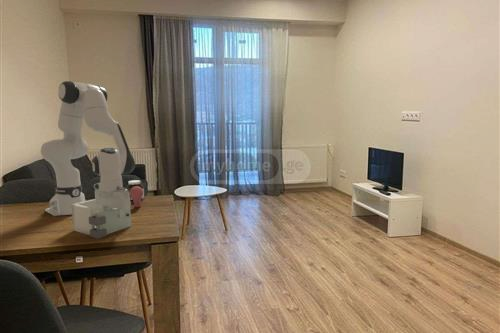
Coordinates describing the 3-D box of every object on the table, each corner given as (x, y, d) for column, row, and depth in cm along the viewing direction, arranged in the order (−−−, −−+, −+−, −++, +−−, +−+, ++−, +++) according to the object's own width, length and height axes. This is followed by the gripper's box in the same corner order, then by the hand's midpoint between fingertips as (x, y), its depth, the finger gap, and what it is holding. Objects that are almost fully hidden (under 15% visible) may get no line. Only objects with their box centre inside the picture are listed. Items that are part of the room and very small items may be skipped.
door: (96, 235, 147) (95, 213, 146) (128, 225, 161) (126, 204, 159) (101, 237, 146) (99, 214, 144) (132, 226, 159) (131, 205, 158)
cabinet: (71, 230, 154) (69, 204, 152) (112, 218, 171) (110, 195, 169) (97, 238, 143) (95, 210, 142) (138, 225, 161) (136, 200, 159)
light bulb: (131, 209, 187) (130, 188, 186) (129, 206, 194) (128, 185, 192) (145, 208, 191) (144, 186, 189) (142, 205, 197) (141, 184, 195)
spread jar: (146, 199, 210) (145, 180, 208) (131, 203, 200) (129, 184, 198) (132, 197, 216) (131, 179, 214) (117, 201, 206) (116, 182, 205)
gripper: (133, 186, 147) (135, 217, 149) (103, 182, 158) (106, 211, 160) (120, 189, 142) (122, 221, 144) (91, 184, 153) (93, 214, 155)
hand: (113, 216), depth 152 cm, fingers open, 8 cm apart
